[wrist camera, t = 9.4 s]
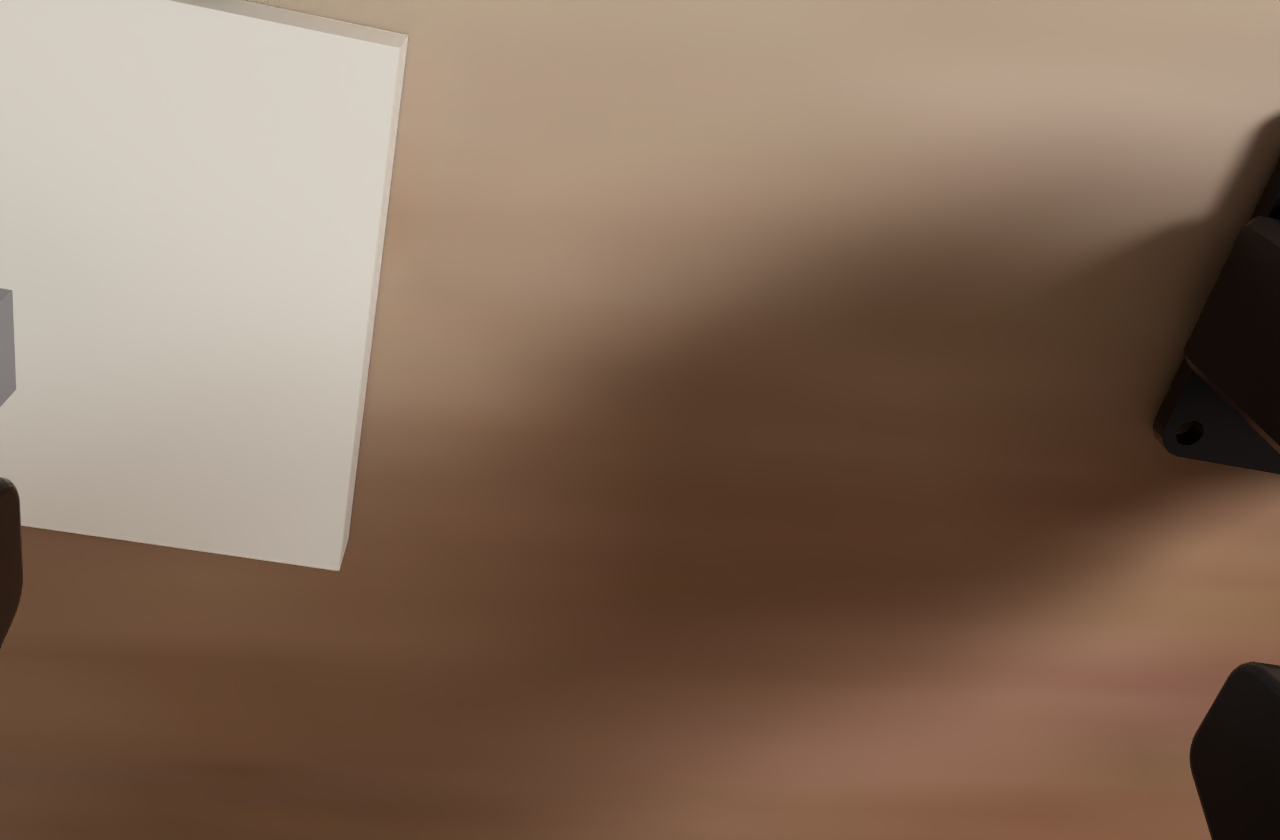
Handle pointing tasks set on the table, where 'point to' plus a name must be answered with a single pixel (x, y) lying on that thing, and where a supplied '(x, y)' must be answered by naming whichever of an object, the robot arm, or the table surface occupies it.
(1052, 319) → the table surface
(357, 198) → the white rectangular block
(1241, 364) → the robot arm
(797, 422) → the table surface
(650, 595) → the table surface
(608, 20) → the table surface
